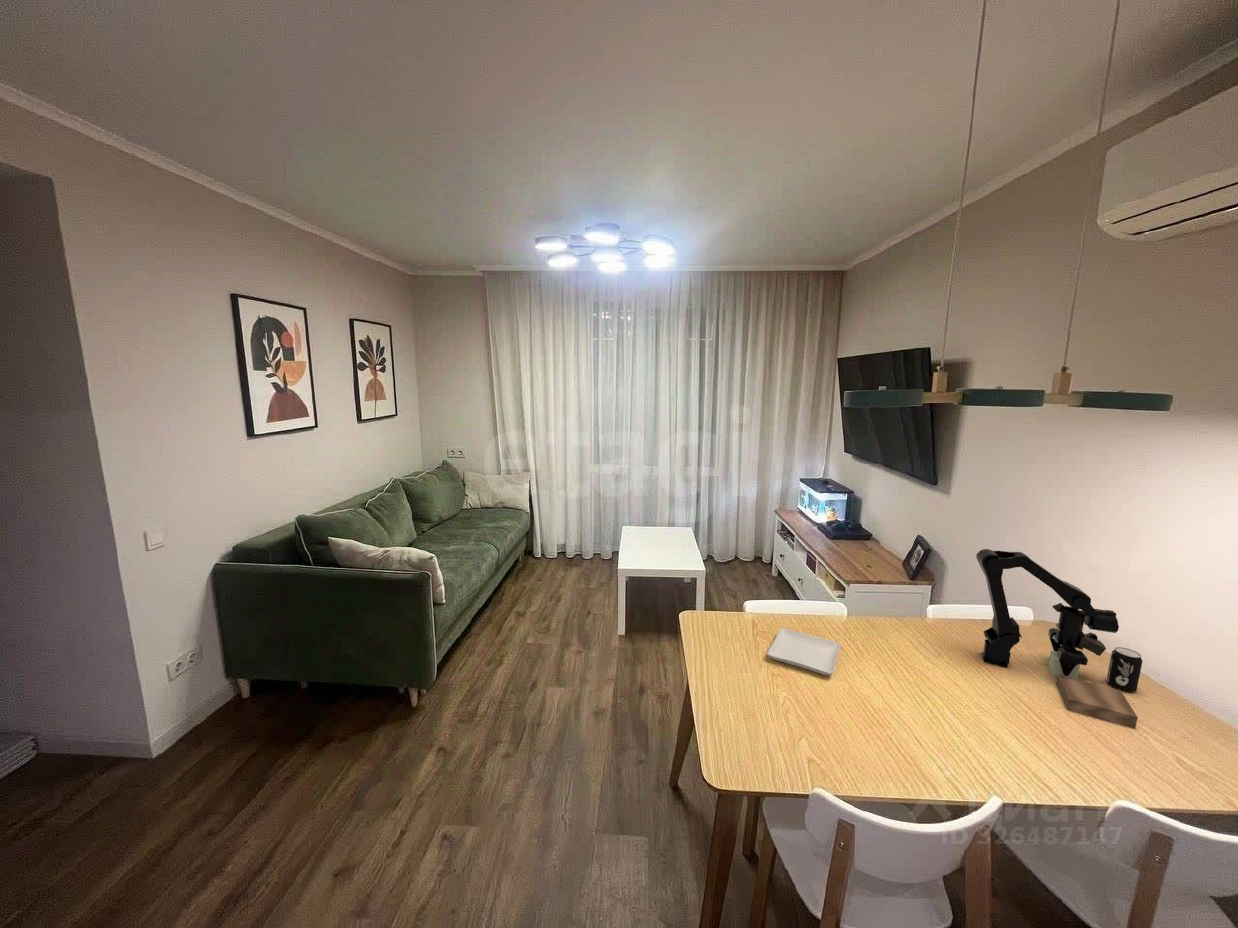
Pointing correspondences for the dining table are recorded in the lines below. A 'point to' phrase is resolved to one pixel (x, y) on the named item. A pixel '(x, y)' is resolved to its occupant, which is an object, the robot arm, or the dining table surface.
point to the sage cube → (1056, 667)
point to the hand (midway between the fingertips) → (1062, 669)
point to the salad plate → (805, 651)
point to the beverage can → (1124, 669)
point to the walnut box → (1096, 701)
